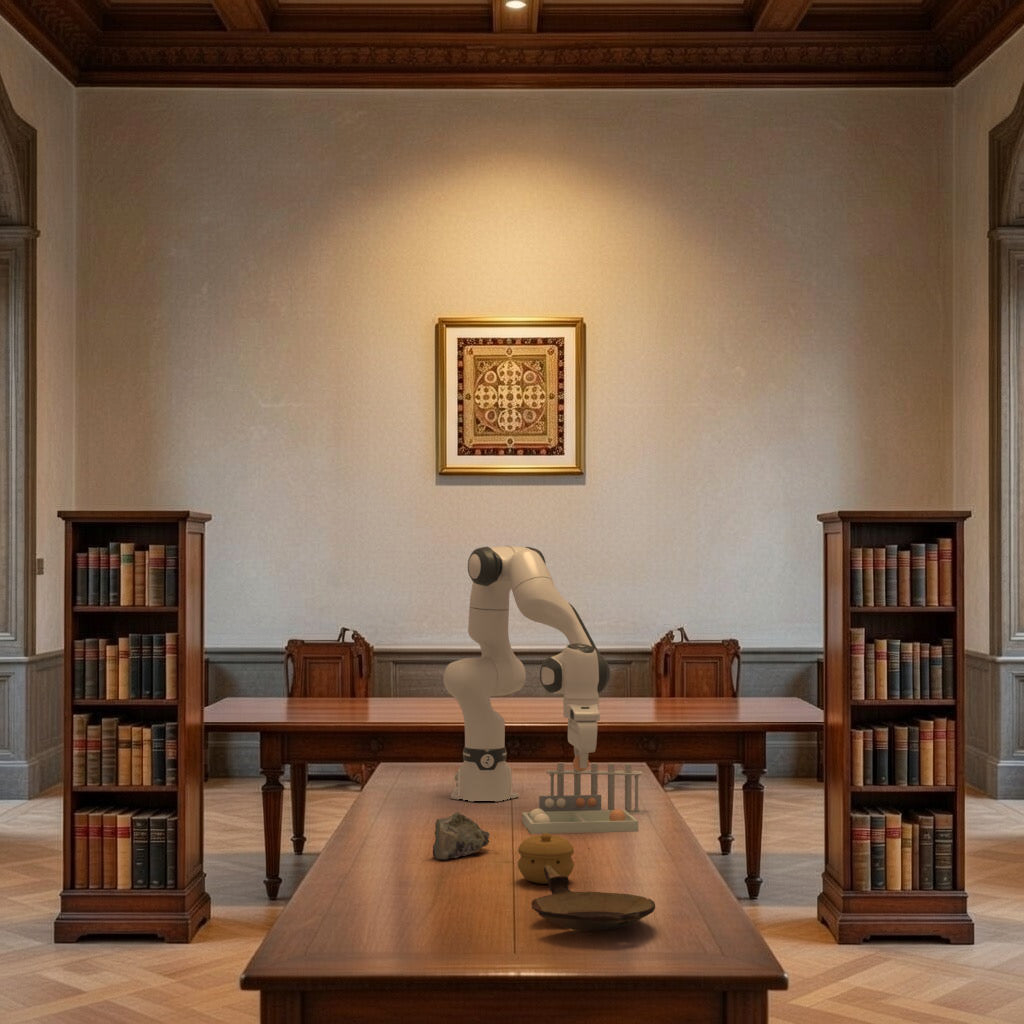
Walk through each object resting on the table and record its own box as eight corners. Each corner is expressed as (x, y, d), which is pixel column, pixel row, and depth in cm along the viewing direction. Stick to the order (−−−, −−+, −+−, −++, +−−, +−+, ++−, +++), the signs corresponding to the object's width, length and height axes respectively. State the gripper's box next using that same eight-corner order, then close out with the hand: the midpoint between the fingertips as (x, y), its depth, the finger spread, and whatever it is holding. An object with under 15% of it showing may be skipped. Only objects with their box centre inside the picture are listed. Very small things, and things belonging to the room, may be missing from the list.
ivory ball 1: (528, 823, 345) (528, 807, 345) (544, 822, 346) (544, 806, 346) (530, 826, 341) (531, 810, 341) (546, 826, 342) (546, 809, 342)
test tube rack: (642, 813, 363) (642, 762, 363) (642, 816, 358) (642, 765, 359) (546, 811, 365) (547, 761, 365) (546, 814, 360) (546, 763, 361)
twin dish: (522, 824, 347) (522, 812, 347) (625, 821, 351) (625, 809, 351) (531, 836, 332) (531, 823, 332) (638, 833, 336) (638, 821, 336)
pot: (534, 891, 279) (534, 841, 279) (507, 878, 289) (507, 830, 290) (584, 884, 284) (584, 836, 285) (556, 872, 295) (556, 825, 295)
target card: (539, 819, 353) (539, 795, 353) (600, 818, 355) (600, 794, 355) (539, 820, 352) (539, 796, 352) (601, 819, 354) (601, 795, 354)
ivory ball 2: (532, 828, 338) (532, 812, 339) (548, 828, 339) (548, 811, 339) (535, 831, 335) (535, 815, 335) (551, 831, 335) (551, 814, 335)
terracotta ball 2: (607, 824, 344) (607, 807, 345) (623, 823, 345) (623, 807, 345) (611, 827, 341) (611, 810, 341) (627, 826, 341) (627, 810, 341)
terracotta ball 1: (571, 770, 343) (571, 754, 343) (587, 769, 344) (587, 753, 344) (574, 772, 339) (574, 756, 339) (590, 772, 340) (590, 755, 340)
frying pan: (540, 949, 239) (540, 904, 239) (522, 904, 269) (523, 865, 269) (667, 946, 241) (667, 902, 241) (636, 902, 271) (636, 863, 271)
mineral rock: (489, 851, 316) (489, 807, 316) (491, 861, 305) (491, 816, 305) (432, 851, 315) (432, 807, 315) (432, 862, 304) (432, 816, 305)
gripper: (561, 705, 352) (561, 760, 351) (575, 714, 332) (575, 772, 331) (586, 705, 353) (586, 759, 352) (601, 714, 332) (601, 772, 332)
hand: (581, 766), depth 342 cm, fingers closed on terracotta ball 1, 4 cm apart
